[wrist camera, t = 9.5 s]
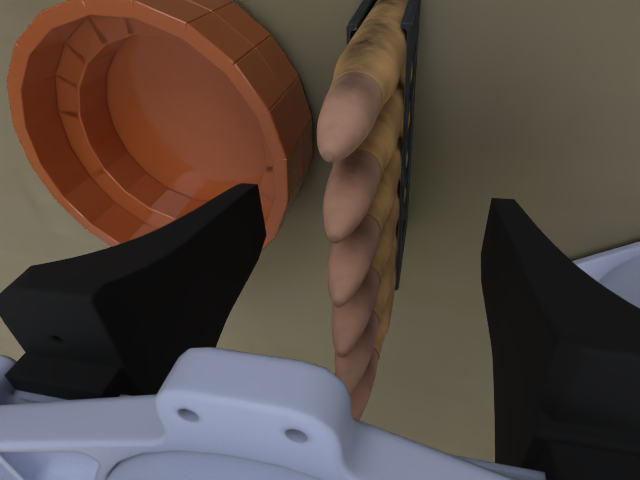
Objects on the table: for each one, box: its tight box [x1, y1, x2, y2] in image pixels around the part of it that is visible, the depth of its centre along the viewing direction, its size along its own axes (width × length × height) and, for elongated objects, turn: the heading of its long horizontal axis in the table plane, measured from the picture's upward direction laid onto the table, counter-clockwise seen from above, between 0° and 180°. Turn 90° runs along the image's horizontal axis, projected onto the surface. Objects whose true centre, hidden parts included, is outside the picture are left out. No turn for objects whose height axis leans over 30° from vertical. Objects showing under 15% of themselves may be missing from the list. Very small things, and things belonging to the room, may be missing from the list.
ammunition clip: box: [317, 0, 420, 420], centre depth 15 cm, size 11×2×12 cm, turn 4°
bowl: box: [7, 0, 312, 251], centre depth 20 cm, size 12×12×4 cm
